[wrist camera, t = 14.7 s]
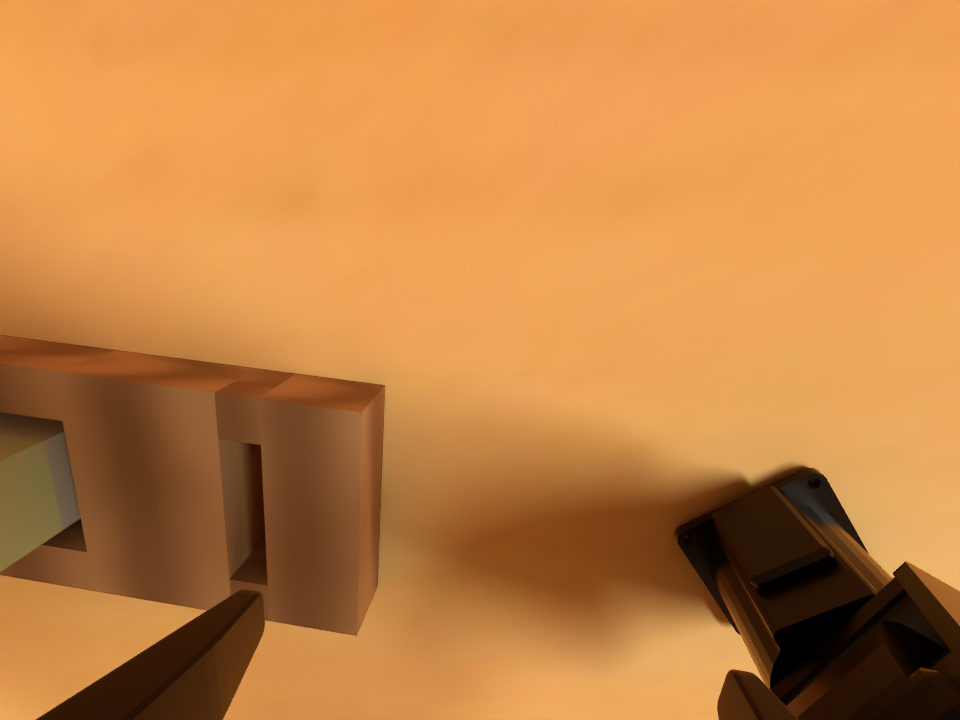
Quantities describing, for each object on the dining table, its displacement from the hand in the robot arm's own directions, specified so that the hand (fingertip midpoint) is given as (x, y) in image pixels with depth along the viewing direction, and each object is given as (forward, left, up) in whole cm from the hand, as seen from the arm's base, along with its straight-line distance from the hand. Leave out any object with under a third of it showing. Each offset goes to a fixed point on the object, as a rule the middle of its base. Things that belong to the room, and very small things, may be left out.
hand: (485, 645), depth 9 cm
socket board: (+7, +16, -12) cm, 21 cm away
